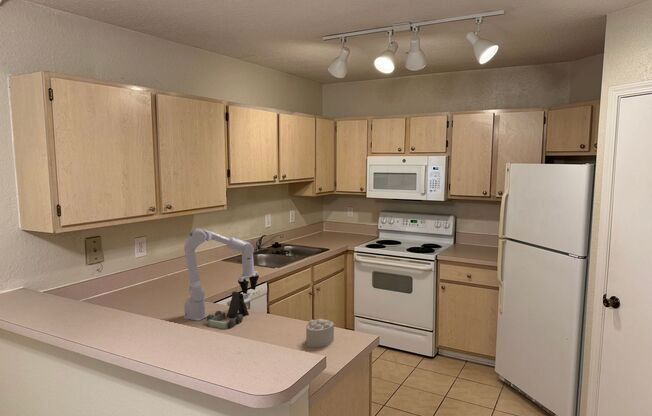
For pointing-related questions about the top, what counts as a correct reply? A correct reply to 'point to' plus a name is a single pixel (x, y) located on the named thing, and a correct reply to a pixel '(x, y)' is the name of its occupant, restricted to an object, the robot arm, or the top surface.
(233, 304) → the phone stand
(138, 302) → the top surface
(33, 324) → the top surface
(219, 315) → the chassis bay
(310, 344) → the lumpy-topped squat cylinder
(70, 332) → the top surface
